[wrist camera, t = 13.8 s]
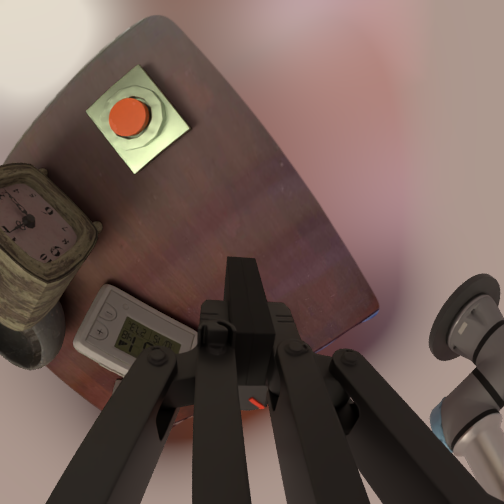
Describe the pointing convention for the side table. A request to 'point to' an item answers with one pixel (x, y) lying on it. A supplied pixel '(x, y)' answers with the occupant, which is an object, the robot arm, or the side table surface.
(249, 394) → the dial
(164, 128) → the button block
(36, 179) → the tabletop clock
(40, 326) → the bowl
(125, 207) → the side table surface
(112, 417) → the robot arm
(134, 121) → the push button
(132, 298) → the digital clock
